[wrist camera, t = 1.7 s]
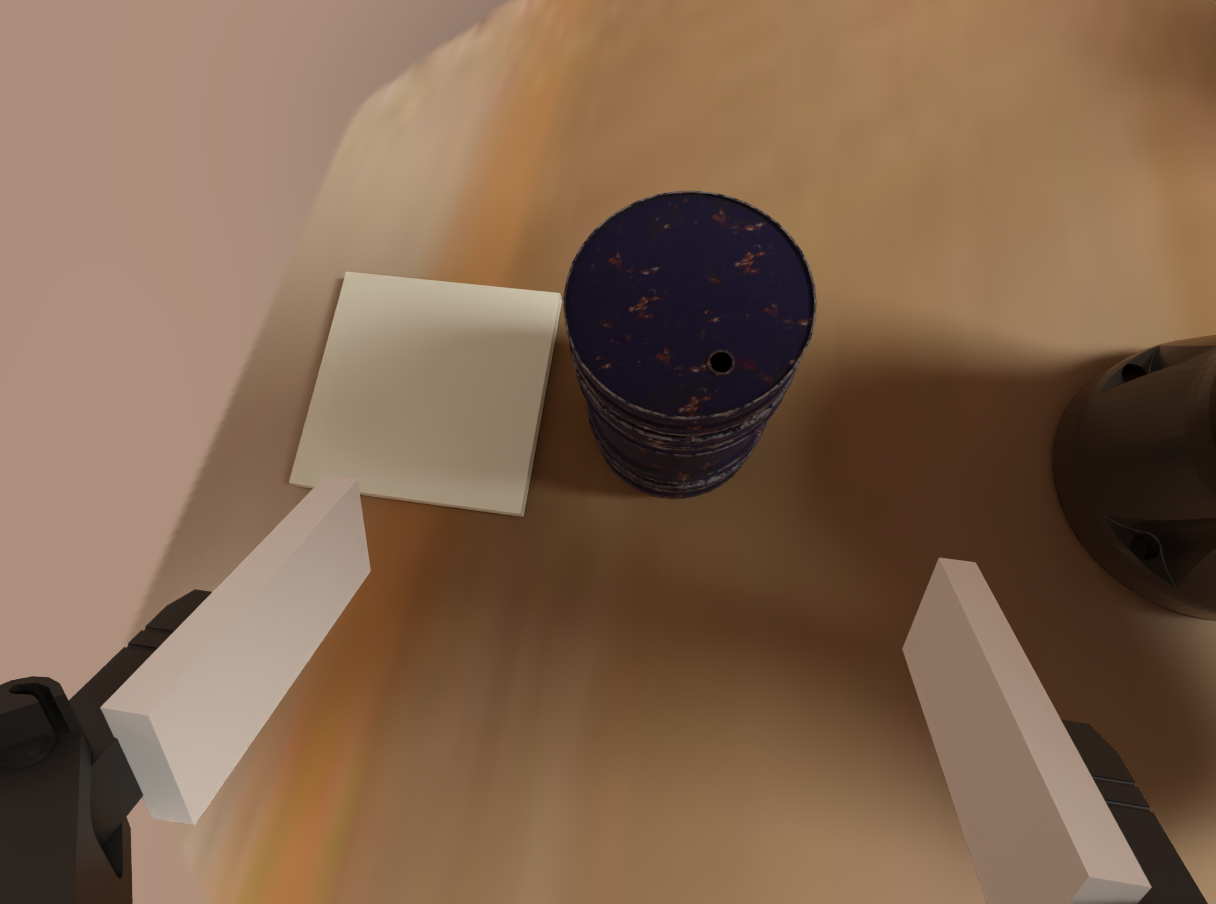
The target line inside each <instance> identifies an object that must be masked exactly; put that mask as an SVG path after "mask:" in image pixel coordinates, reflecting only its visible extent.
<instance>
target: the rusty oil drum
mask: <svg viewBox="0 0 1216 904" xmlns="http://www.w3.org/2000/svg"><path fill="white" fill-rule="evenodd" d="M816 304H817V302H816V293H815V284H814V281H813V277H812V274H811V270H810V267H809V265H808V263H807V261H806V259H805V257H804V255H803V253H802V251H801V249H800V248H799V246H798V245H797V244H796V242H795V241H794V239H793V238H792V237H791V235H790V234H789V233H788V232H787V231H786V230H785V229H784V228H783V227H782V226H781V225H780V224H779V223H778V222H776V221H775V220H774V219H772V218H771V217H770V216H768V215H767V214H766V213H764V212H763V211H761V210H759V209H757V208H756V207H754V206H752V205H750V204H748V203H746V202H743V201H741V200H738V199H735V198H733V197H730V196H726V195H721V194H717V193H712V192H702V191H676V192H669V193H664V194H658V195H654V196H651V197H648V198H645V199H642V200H639V201H636V202H634V203H632V204H630V205H628V206H626V207H624V208H622V209H620V210H619V211H617V212H616V213H615V214H613V215H612V216H610V217H609V218H607V219H606V220H605V221H604V222H603V223H601V224H600V225H599V226H598V227H597V228H596V229H595V230H594V231H593V232H592V233H591V234H590V236H589V237H588V238H587V239H586V241H585V242H584V243H583V245H582V246H581V248H580V249H579V251H578V253H577V255H576V257H575V258H574V260H573V262H572V265H571V268H570V271H569V273H568V276H567V280H566V285H565V291H564V318H565V324H566V330H567V334H568V338H569V344H570V350H571V356H572V361H573V364H574V368H575V371H576V374H577V379H578V382H579V384H580V387H581V390H582V393H583V395H584V397H585V398H586V400H587V409H588V415H589V421H590V425H591V428H592V431H593V434H594V437H595V439H596V441H597V443H598V445H599V448H600V451H601V453H602V455H603V456H604V458H605V460H606V462H607V463H608V465H609V466H610V467H611V469H612V470H613V471H614V472H615V473H616V474H617V475H618V476H619V477H620V478H621V479H622V480H623V481H625V482H626V483H628V484H629V485H631V486H632V487H634V488H635V489H637V490H640V491H642V492H644V493H646V494H650V495H653V496H657V497H662V498H670V499H679V498H689V497H695V496H699V495H702V494H704V493H707V492H710V491H712V490H714V489H716V488H717V487H719V486H721V485H722V484H724V483H725V482H726V481H728V480H729V479H730V478H731V477H732V476H733V475H734V474H735V473H736V472H737V471H738V470H739V469H740V467H741V466H742V464H743V463H744V462H745V461H746V460H747V459H748V457H749V456H750V454H751V453H752V451H753V450H754V448H755V447H756V445H757V443H758V441H759V439H760V438H761V435H762V433H763V431H764V428H765V426H766V422H767V420H768V419H769V418H770V417H771V416H772V415H773V413H774V412H775V410H776V409H777V407H778V406H779V404H780V403H781V401H782V399H783V397H784V395H785V393H786V391H787V390H788V388H789V386H790V384H791V382H792V380H793V378H794V376H795V373H796V371H797V369H798V366H799V362H800V361H801V359H802V357H803V355H804V353H805V351H806V348H807V346H808V344H809V342H810V339H811V336H812V332H813V328H814V324H815V318H816Z"/></svg>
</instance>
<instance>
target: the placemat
mask: <svg viewBox="0 0 1216 904" xmlns="http://www.w3.org/2000/svg"><path fill="white" fill-rule="evenodd" d="M561 304H562V299H561V295H560V293H553V292H543V291H533V290H523V289H513V288H503V287H493V286H484V285H474V284H464V283H454V282H444V281H434V280H424V279H415V278H405V277H395V276H385V275H375V274H365V273H355V272H346V274H345V278H344V281H343V285H342V289H341V292H340V296H339V300H338V303H337V307H336V311H335V314H334V318H333V322H332V325H331V329H330V333H329V336H328V340H327V344H326V347H325V351H324V355H323V358H322V362H321V366H320V369H319V373H318V377H317V381H316V384H315V388H314V392H313V395H312V399H311V403H310V406H309V410H308V414H307V417H306V421H305V425H304V428H303V432H302V436H301V439H300V443H299V447H298V450H297V454H296V458H295V461H294V465H293V469H292V472H291V476H290V480H289V483H290V484H293V485H295V486H298V487H305V488H314V487H315V486H316V485H317V484H318V483H319V482H320V481H321V480H322V479H323V478H324V477H325V476H326V475H330V476H337V477H345V478H352V479H358V486H359V493H360V495H365V496H372V497H379V498H387V499H394V500H402V501H409V502H416V503H424V504H431V505H439V506H446V507H453V508H461V509H468V510H476V511H483V512H491V513H498V514H505V515H513V516H520V517H524V512H525V506H526V501H527V495H528V490H529V484H530V478H531V473H532V467H533V461H534V456H535V450H536V445H537V439H538V433H539V428H540V422H541V417H542V411H543V405H544V400H545V394H546V389H547V383H548V377H549V372H550V366H551V360H552V355H553V349H554V344H555V338H556V332H557V327H558V321H559V316H560V310H561Z"/></svg>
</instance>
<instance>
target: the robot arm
mask: <svg viewBox="0 0 1216 904" xmlns="http://www.w3.org/2000/svg"><path fill="white" fill-rule="evenodd" d="M1054 474H1055V481H1056V486H1057V490H1058V494H1059V498H1060V501H1061V504H1062V506H1063V509H1064V511H1065V514H1066V516H1067V518H1068V520H1069V522H1070V524H1071V526H1072V528H1073V529H1074V531H1075V533H1076V534H1077V536H1078V537H1079V539H1080V540H1081V542H1082V543H1083V545H1084V546H1085V547H1086V549H1087V550H1088V551H1089V552H1090V553H1091V555H1092V556H1093V557H1094V558H1095V559H1096V560H1097V561H1098V562H1099V563H1100V564H1101V565H1102V567H1103V568H1105V569H1106V570H1107V571H1108V572H1109V573H1110V574H1111V575H1112V576H1114V577H1115V578H1116V579H1117V580H1118V581H1120V582H1121V583H1122V584H1124V585H1125V586H1127V587H1128V588H1129V589H1131V590H1132V591H1134V592H1136V593H1137V594H1139V595H1140V596H1142V597H1144V598H1146V599H1148V600H1150V601H1152V602H1154V603H1156V604H1158V605H1160V606H1162V607H1165V608H1167V609H1170V610H1173V611H1175V612H1179V613H1182V614H1185V615H1189V616H1193V617H1198V618H1203V619H1210V620H1216V335H1211V336H1205V337H1198V338H1192V339H1185V340H1179V341H1173V342H1168V343H1164V344H1160V345H1157V346H1154V347H1151V348H1148V349H1145V350H1143V351H1140V352H1138V353H1136V354H1133V355H1131V356H1130V357H1128V358H1126V359H1124V360H1122V361H1121V362H1119V363H1117V364H1115V365H1114V366H1112V367H1110V368H1108V369H1107V370H1105V371H1103V372H1102V373H1100V374H1099V375H1097V376H1096V377H1094V378H1093V379H1092V380H1091V381H1089V382H1088V383H1087V384H1086V385H1085V386H1084V387H1083V388H1082V389H1081V390H1080V391H1079V392H1078V393H1077V394H1076V396H1075V397H1074V398H1073V400H1072V401H1071V402H1070V404H1069V406H1068V407H1067V409H1066V411H1065V413H1064V415H1063V417H1062V420H1061V422H1060V425H1059V428H1058V431H1057V435H1056V440H1055V447H1054ZM370 571H371V569H370V562H369V555H368V548H367V541H366V534H365V528H364V521H363V514H362V507H361V500H360V493H359V486H358V479H352V478H345V477H337V476H330V475H326V476H325V477H324V478H323V479H322V480H321V481H320V482H319V483H318V484H317V485H316V486H315V487H314V488H313V489H312V490H311V491H310V492H309V493H308V494H307V495H306V496H305V497H304V498H303V499H302V500H301V501H300V502H299V504H298V505H297V506H296V507H295V508H294V509H293V510H292V511H291V512H290V513H289V514H288V515H287V516H286V517H285V518H284V519H283V520H282V521H281V522H280V523H279V524H278V525H277V526H276V527H275V528H274V529H273V530H272V531H271V532H270V533H269V534H268V535H267V536H266V537H265V539H264V540H263V541H262V542H261V543H260V544H259V545H258V546H257V547H256V548H255V549H254V550H253V551H252V552H251V553H250V554H249V555H248V556H247V557H246V558H245V559H244V560H243V561H242V562H241V563H240V564H239V565H238V566H237V567H236V568H235V569H234V570H233V571H232V572H231V573H230V575H229V576H228V577H227V578H226V579H225V580H224V581H223V582H222V583H221V584H220V585H219V586H218V587H217V588H216V589H215V590H214V591H213V592H209V591H203V590H196V589H195V590H193V591H191V592H190V593H188V594H186V595H185V596H183V597H181V598H179V599H178V600H176V601H174V602H173V603H171V604H169V605H167V606H166V607H165V608H164V609H163V610H162V611H161V612H160V613H159V614H158V615H157V616H156V617H155V618H154V619H153V620H152V621H151V622H150V623H149V624H148V625H146V628H145V630H144V631H143V630H141V631H140V632H139V633H138V634H137V635H136V636H135V637H134V638H133V639H132V640H131V641H130V642H129V643H128V647H127V648H125V647H124V648H123V649H122V650H121V651H120V652H119V653H118V654H117V655H116V656H114V657H113V658H112V659H111V660H110V661H109V662H108V663H107V665H105V666H104V667H103V668H102V669H101V670H100V671H99V672H98V673H97V674H96V675H95V676H94V677H93V678H92V679H91V680H90V681H89V682H88V683H87V684H86V685H85V686H83V687H82V689H80V690H79V692H77V693H76V694H75V695H74V696H73V697H72V698H71V699H70V700H69V701H68V699H67V697H66V695H65V693H64V691H63V689H62V687H61V685H60V683H58V682H56V681H54V680H53V679H51V678H49V677H33V676H32V677H27V678H22V679H17V680H11V681H9V682H6V683H4V684H2V685H0V904H132V866H131V829H130V826H129V823H128V820H127V817H126V816H127V815H128V814H129V812H130V811H131V810H132V809H133V808H134V806H135V805H136V804H137V802H138V801H139V800H140V799H141V797H142V798H143V800H144V802H145V804H146V806H147V808H148V811H149V813H150V815H151V817H152V818H156V819H161V820H167V821H172V822H177V823H183V824H188V825H195V824H196V823H197V821H198V820H199V818H200V817H201V815H202V814H203V813H204V811H205V810H206V808H207V807H208V805H209V804H210V802H211V801H212V800H213V798H214V797H215V795H216V794H217V792H218V791H219V789H220V788H221V787H222V785H223V784H224V782H225V781H226V779H227V778H228V776H229V775H230V774H231V772H232V771H233V769H234V768H235V766H236V765H237V763H238V762H239V761H240V759H241V758H242V756H243V755H244V753H245V752H246V750H247V749H248V748H249V746H250V745H251V743H252V742H253V740H254V739H255V737H256V736H257V735H258V733H259V732H260V730H261V729H262V727H263V726H264V724H265V723H266V722H267V720H268V719H269V717H270V716H271V714H272V713H273V711H274V710H275V709H276V707H277V706H278V704H279V703H280V701H281V700H282V698H283V697H284V696H285V694H286V693H287V691H288V690H289V688H290V687H291V685H292V684H293V683H294V681H295V680H296V678H297V677H298V675H299V674H300V672H301V671H302V670H303V668H304V667H305V665H306V664H307V662H308V661H309V659H310V658H311V657H312V655H313V654H314V652H315V651H316V649H317V648H318V646H319V645H320V644H321V642H322V641H323V639H324V638H325V636H326V635H327V633H328V632H329V631H330V629H331V628H332V626H333V625H334V623H335V622H336V620H337V619H338V618H339V616H340V615H341V613H342V612H343V610H344V609H345V608H346V606H347V605H348V603H349V602H350V600H351V599H352V597H353V596H354V595H355V593H356V592H357V590H358V589H359V587H360V586H361V584H362V583H363V582H364V580H365V579H366V577H367V576H368V574H369V573H370ZM902 650H903V653H904V656H905V659H906V662H907V665H908V668H909V671H910V674H911V677H912V680H913V683H914V686H915V689H916V692H917V695H918V698H919V701H920V704H921V707H922V710H923V713H924V716H925V719H926V722H927V725H928V728H929V731H930V734H931V737H932V740H933V743H934V746H935V749H936V752H937V755H938V758H939V761H940V764H941V767H942V771H943V774H944V777H945V780H946V783H947V786H948V789H949V792H950V795H951V798H952V801H953V804H954V807H955V810H956V813H957V816H958V819H959V822H960V825H961V828H962V831H963V834H964V837H965V840H966V843H967V846H968V849H969V852H970V855H971V858H972V861H973V864H974V867H975V870H976V873H977V876H978V879H979V882H980V885H981V888H982V891H983V894H984V897H985V900H986V903H987V904H1208V903H1207V902H1206V900H1205V898H1204V897H1203V895H1202V893H1201V892H1200V890H1199V888H1198V887H1197V885H1196V883H1195V882H1194V880H1193V878H1192V877H1191V875H1190V873H1189V872H1188V870H1187V868H1186V867H1185V865H1184V863H1183V862H1182V860H1181V858H1180V857H1179V855H1178V853H1177V852H1176V850H1175V848H1174V847H1173V845H1172V843H1171V842H1170V840H1169V838H1168V837H1167V835H1166V833H1165V832H1164V830H1163V828H1162V827H1161V825H1160V823H1159V822H1158V820H1157V818H1156V817H1155V815H1154V813H1153V812H1150V811H1149V805H1148V803H1147V802H1146V800H1145V798H1144V797H1143V795H1142V793H1141V792H1140V790H1139V788H1138V787H1135V786H1134V780H1133V778H1132V776H1131V775H1130V773H1129V771H1128V770H1127V768H1126V766H1125V765H1124V763H1123V761H1122V760H1121V758H1120V756H1119V755H1118V753H1117V752H1116V751H1115V750H1114V749H1113V748H1112V747H1111V746H1110V745H1109V744H1108V743H1107V742H1106V741H1105V740H1104V739H1103V738H1102V737H1101V736H1100V735H1099V734H1098V733H1097V732H1096V731H1095V730H1094V729H1093V728H1092V727H1091V726H1090V725H1089V724H1084V723H1078V722H1071V721H1065V720H1061V719H1060V717H1059V715H1058V713H1057V712H1056V710H1055V708H1054V706H1053V704H1052V702H1051V701H1050V699H1049V697H1048V695H1047V693H1046V691H1045V689H1044V688H1043V686H1042V684H1041V682H1040V680H1039V678H1038V677H1037V675H1036V673H1035V671H1034V669H1033V667H1032V665H1031V664H1030V662H1029V660H1028V658H1027V656H1026V654H1025V653H1024V651H1023V649H1022V647H1021V645H1020V643H1019V641H1018V640H1017V638H1016V636H1015V634H1014V632H1013V630H1012V629H1011V627H1010V625H1009V623H1008V621H1007V619H1006V617H1005V616H1004V614H1003V612H1002V610H1001V608H1000V606H999V605H998V603H997V601H996V599H995V597H994V595H993V593H992V592H991V590H990V588H989V586H988V584H987V582H986V581H985V579H984V577H983V575H982V573H981V571H980V569H979V568H978V566H977V564H976V562H969V561H961V560H954V559H947V558H939V559H938V561H937V564H936V566H935V569H934V571H933V574H932V576H931V579H930V581H929V583H928V586H927V588H926V591H925V593H924V596H923V598H922V601H921V603H920V606H919V608H918V611H917V613H916V616H915V618H914V621H913V623H912V626H911V628H910V631H909V633H908V636H907V638H906V641H905V643H904V646H903V648H902Z"/></svg>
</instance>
